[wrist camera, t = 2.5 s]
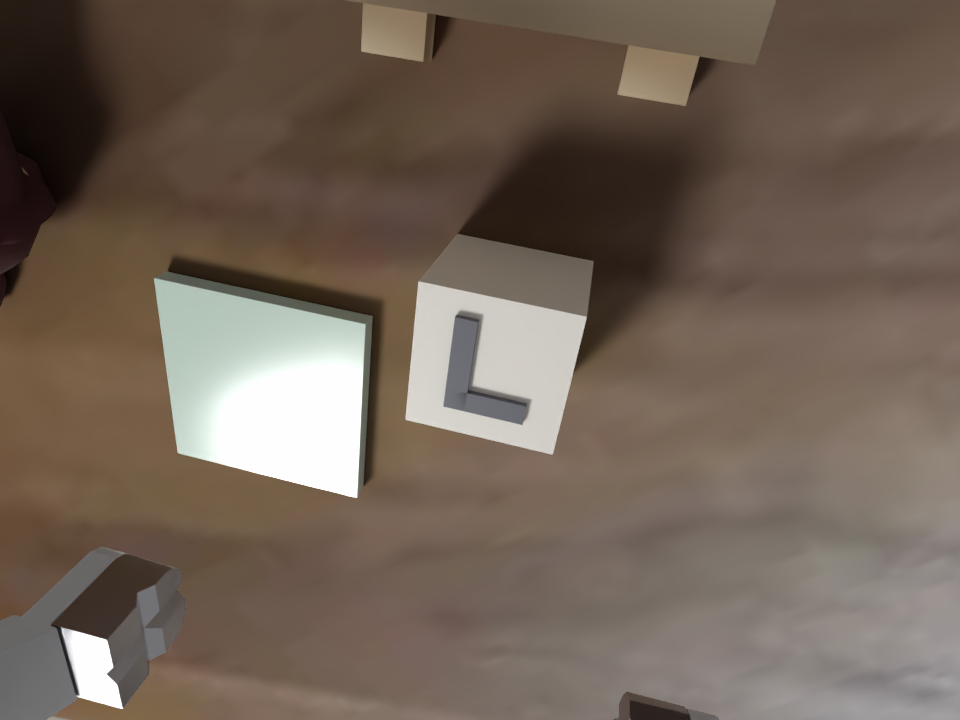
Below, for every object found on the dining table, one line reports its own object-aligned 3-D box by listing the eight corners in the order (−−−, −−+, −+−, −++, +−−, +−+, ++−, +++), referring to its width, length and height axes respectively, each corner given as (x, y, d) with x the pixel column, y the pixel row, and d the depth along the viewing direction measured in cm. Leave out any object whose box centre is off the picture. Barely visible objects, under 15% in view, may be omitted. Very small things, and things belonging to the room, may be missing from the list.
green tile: (166, 271, 25) (153, 278, 25) (372, 315, 24) (365, 324, 24) (188, 443, 30) (177, 453, 29) (363, 487, 29) (356, 498, 28)
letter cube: (457, 233, 22) (416, 283, 18) (593, 260, 22) (586, 319, 17) (443, 352, 25) (403, 423, 20) (564, 379, 24) (552, 458, 20)
